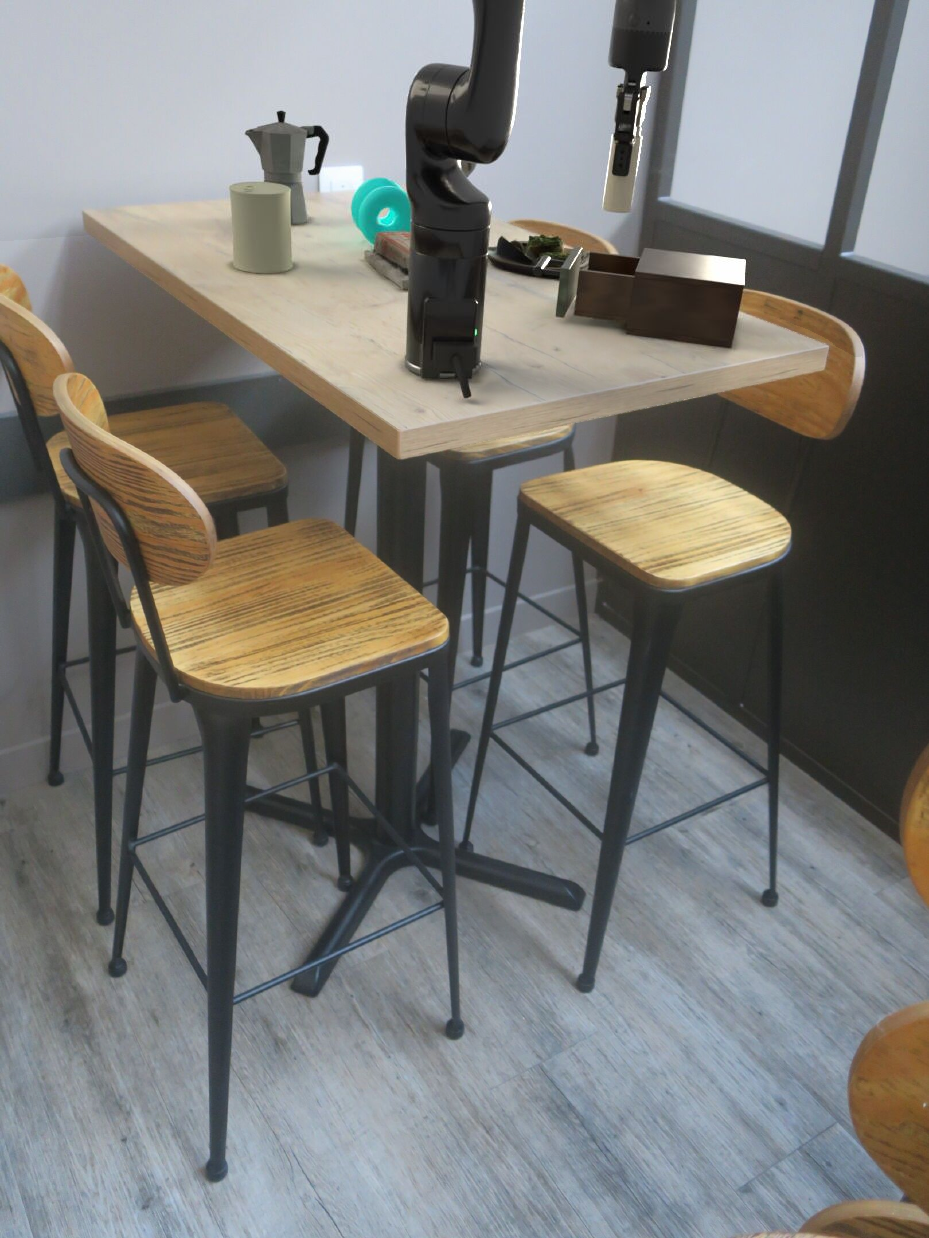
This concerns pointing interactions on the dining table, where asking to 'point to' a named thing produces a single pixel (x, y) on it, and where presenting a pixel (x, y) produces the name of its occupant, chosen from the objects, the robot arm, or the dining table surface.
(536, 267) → the drawer
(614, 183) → the pepper mill
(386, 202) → the donuts
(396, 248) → the packaged product
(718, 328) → the cabinet
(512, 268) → the salad plate
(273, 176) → the coffeepot
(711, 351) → the dining table surface
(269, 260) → the can
